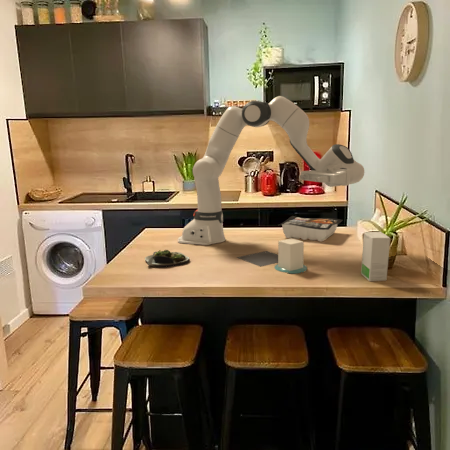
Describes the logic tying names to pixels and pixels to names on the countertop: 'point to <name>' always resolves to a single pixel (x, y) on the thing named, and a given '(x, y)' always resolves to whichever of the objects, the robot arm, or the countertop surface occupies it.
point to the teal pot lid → (292, 270)
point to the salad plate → (166, 259)
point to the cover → (290, 254)
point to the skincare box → (375, 256)
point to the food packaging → (310, 228)
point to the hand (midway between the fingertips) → (308, 178)
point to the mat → (261, 258)
